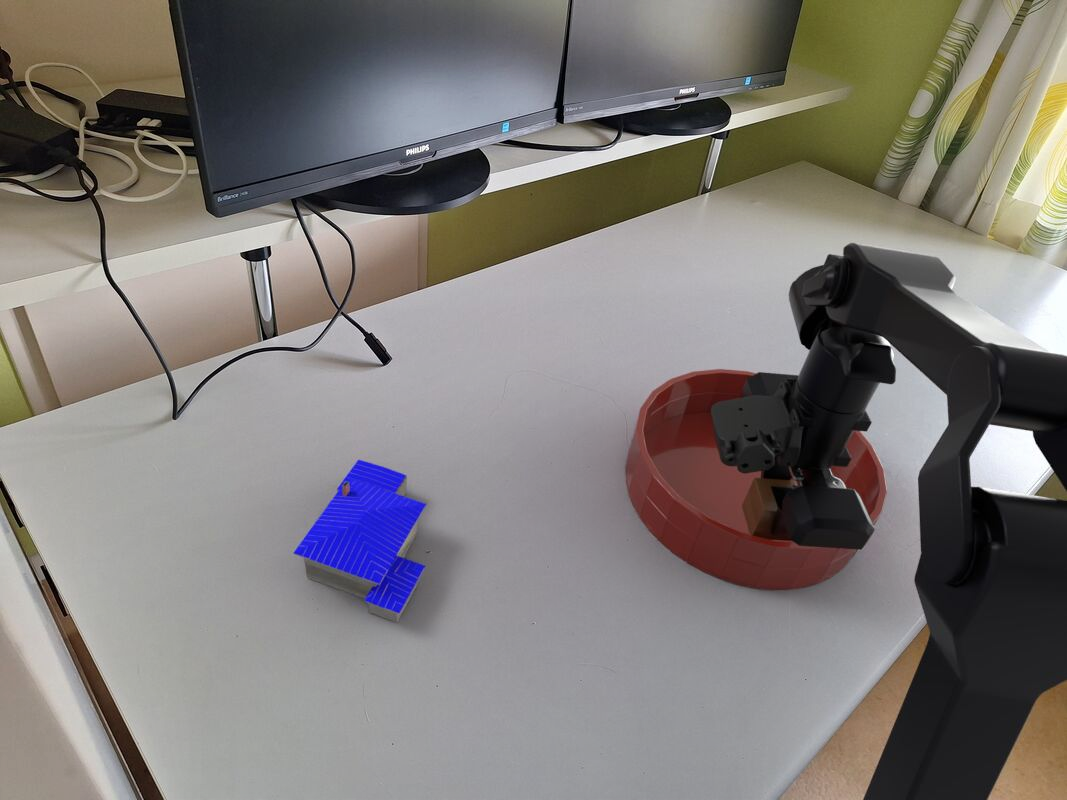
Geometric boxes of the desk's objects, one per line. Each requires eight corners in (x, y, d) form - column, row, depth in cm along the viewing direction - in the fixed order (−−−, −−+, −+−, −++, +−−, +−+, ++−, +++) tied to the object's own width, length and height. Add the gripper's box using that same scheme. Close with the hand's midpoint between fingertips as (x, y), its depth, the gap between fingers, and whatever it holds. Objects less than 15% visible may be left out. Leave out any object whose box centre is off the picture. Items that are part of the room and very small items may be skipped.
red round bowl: (910, 534, 80) (938, 493, 76) (733, 631, 69) (755, 589, 64) (746, 389, 96) (762, 348, 91) (579, 448, 84) (589, 405, 80)
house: (462, 511, 76) (465, 472, 72) (399, 628, 65) (399, 590, 61) (359, 476, 77) (357, 437, 74) (282, 585, 67) (275, 545, 63)
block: (781, 508, 74) (795, 480, 71) (792, 541, 71) (807, 513, 68) (741, 505, 73) (754, 477, 71) (751, 538, 70) (764, 510, 68)
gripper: (712, 314, 67) (671, 440, 78) (763, 468, 53) (705, 596, 63) (833, 325, 68) (776, 448, 78) (914, 478, 54) (833, 603, 64)
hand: (770, 516), depth 71 cm, fingers closed on block, 4 cm apart
